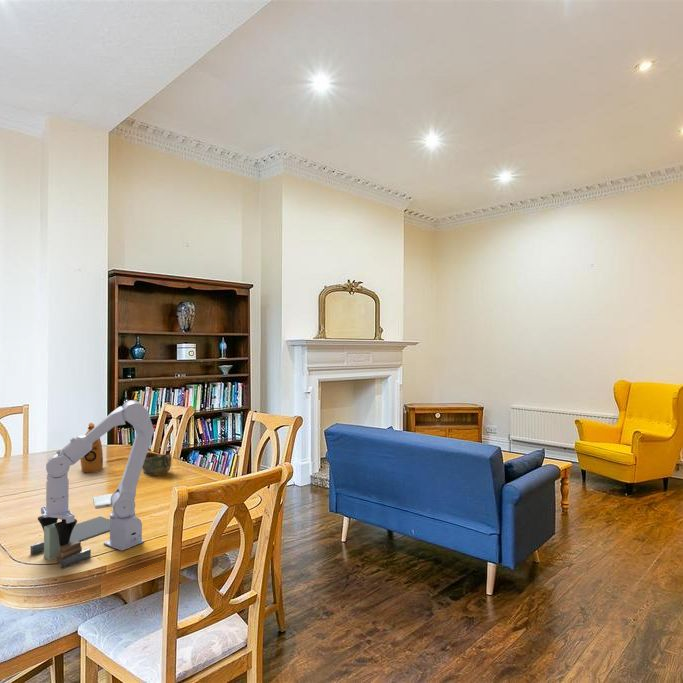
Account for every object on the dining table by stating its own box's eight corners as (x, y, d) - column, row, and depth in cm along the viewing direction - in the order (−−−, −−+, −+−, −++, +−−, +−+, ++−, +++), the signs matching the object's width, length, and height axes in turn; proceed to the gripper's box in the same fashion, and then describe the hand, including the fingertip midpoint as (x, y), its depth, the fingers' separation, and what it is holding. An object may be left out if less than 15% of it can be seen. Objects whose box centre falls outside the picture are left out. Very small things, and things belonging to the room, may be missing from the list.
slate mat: (124, 525, 168) (124, 524, 168) (72, 544, 152) (72, 542, 152) (100, 517, 175) (100, 516, 175) (48, 534, 160) (48, 533, 160)
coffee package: (78, 474, 230) (78, 427, 230) (81, 467, 242) (81, 422, 242) (101, 471, 234) (102, 425, 234) (103, 465, 245) (103, 421, 245)
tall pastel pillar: (70, 552, 147) (70, 522, 147) (49, 559, 142) (49, 528, 142) (64, 549, 148) (64, 520, 148) (43, 557, 143) (44, 526, 143)
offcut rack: (90, 557, 143) (90, 549, 143) (62, 568, 136) (62, 559, 136) (58, 544, 152) (58, 536, 152) (30, 553, 145) (30, 545, 145)
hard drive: (92, 496, 195) (95, 505, 184) (115, 493, 199) (119, 501, 188) (92, 500, 195) (95, 509, 184) (115, 497, 199) (119, 506, 188)
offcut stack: (82, 557, 143) (82, 541, 143) (62, 565, 138) (62, 548, 138) (78, 555, 144) (78, 539, 144) (57, 563, 139) (57, 546, 139)
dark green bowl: (142, 480, 221) (142, 457, 221) (139, 469, 239) (140, 449, 239) (172, 477, 226) (172, 455, 226) (167, 467, 244) (168, 446, 244)
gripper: (30, 495, 145) (29, 541, 145) (57, 504, 138) (56, 552, 138) (54, 489, 151) (54, 533, 151) (81, 497, 144) (81, 544, 144)
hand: (57, 542), depth 145 cm, fingers open, 7 cm apart
